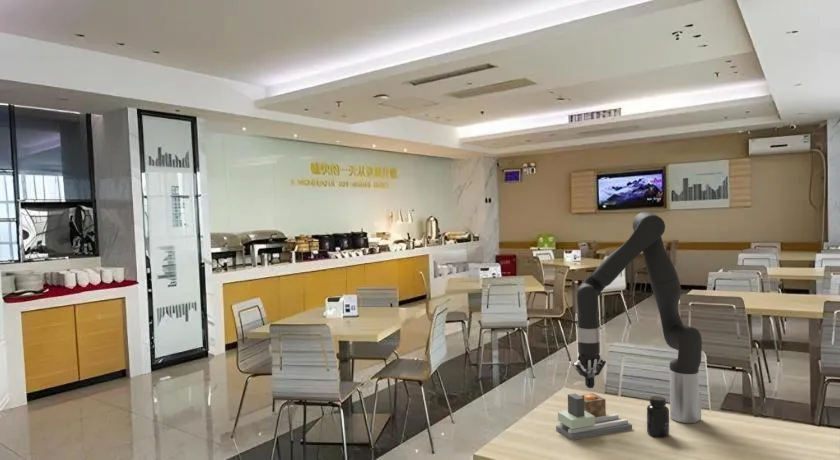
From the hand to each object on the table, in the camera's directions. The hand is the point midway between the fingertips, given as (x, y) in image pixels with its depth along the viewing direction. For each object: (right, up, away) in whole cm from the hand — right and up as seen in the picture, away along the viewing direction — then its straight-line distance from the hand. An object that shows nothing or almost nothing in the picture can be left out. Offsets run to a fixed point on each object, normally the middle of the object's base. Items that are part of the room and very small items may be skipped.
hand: (589, 387), depth 197 cm
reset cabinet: (0, -11, 0) cm, 11 cm away
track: (-2, -11, -10) cm, 15 cm away
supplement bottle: (+18, -11, -15) cm, 26 cm away
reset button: (0, -7, 0) cm, 7 cm away
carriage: (-8, -8, -13) cm, 17 cm away
